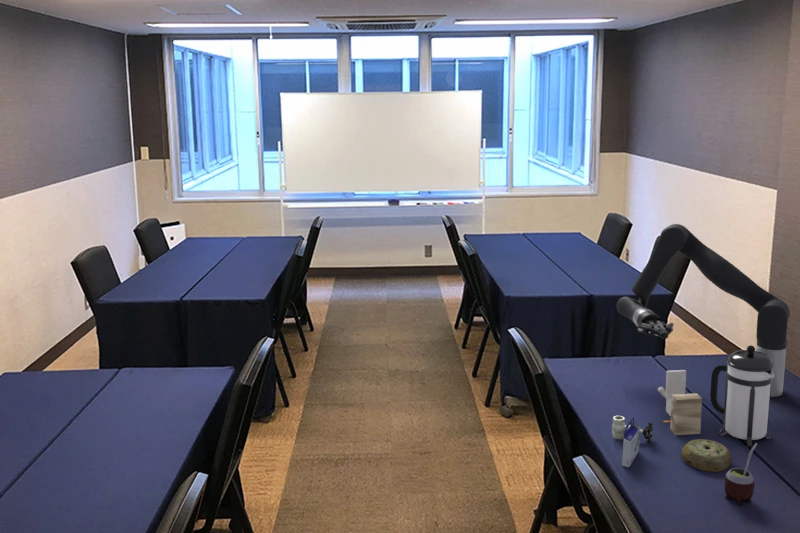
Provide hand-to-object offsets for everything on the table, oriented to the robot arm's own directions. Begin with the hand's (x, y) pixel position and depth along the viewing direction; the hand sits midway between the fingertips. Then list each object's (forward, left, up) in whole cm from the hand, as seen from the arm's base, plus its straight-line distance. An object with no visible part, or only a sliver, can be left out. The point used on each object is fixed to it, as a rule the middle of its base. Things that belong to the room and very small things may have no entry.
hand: (665, 335), depth 244 cm
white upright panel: (+10, +6, -23) cm, 25 cm away
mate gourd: (+52, +27, -26) cm, 64 cm away
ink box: (+41, -3, -26) cm, 48 cm away
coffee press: (+13, +25, -26) cm, 38 cm away
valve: (+28, -5, -26) cm, 39 cm away
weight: (+34, +17, -26) cm, 46 cm away
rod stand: (+9, +5, -26) cm, 27 cm away
